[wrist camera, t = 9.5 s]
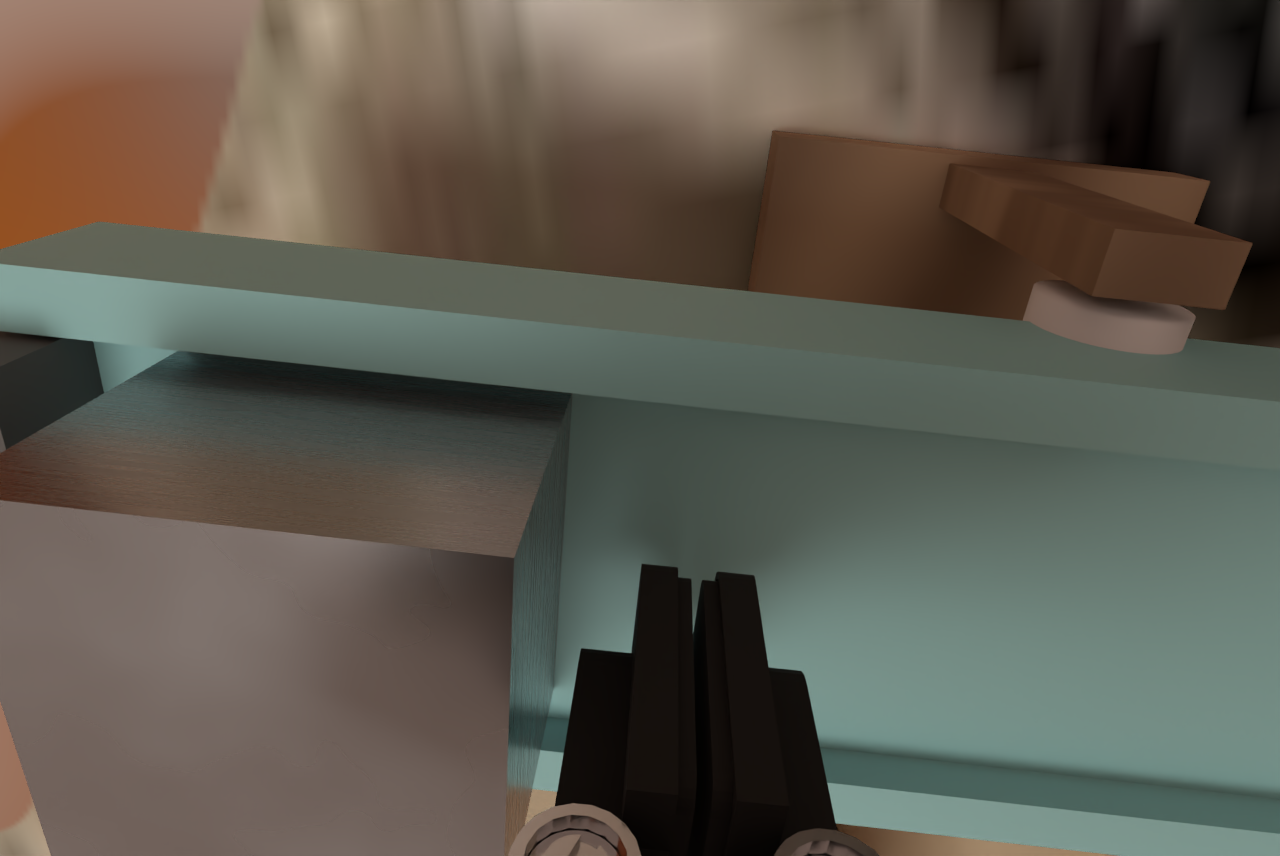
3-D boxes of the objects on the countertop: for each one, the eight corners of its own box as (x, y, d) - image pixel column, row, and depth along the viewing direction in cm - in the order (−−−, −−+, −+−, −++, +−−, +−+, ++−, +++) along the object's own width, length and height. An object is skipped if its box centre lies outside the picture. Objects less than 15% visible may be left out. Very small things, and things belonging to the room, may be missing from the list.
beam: (2042, 383, 14) (2727, 550, 9) (1674, 785, 18) (2017, 1038, 14) (138, 180, 14) (-130, 242, 10) (212, 621, 19) (52, 813, 14)
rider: (573, 390, 12) (513, 558, 8) (553, 688, 15) (501, 930, 11) (184, 347, 12) (-69, 492, 8) (232, 651, 15) (58, 878, 11)
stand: (1173, 172, 20) (1535, 258, 11) (1018, 596, 25) (1185, 863, 17) (772, 130, 20) (842, 186, 11) (705, 564, 25) (718, 814, 17)
